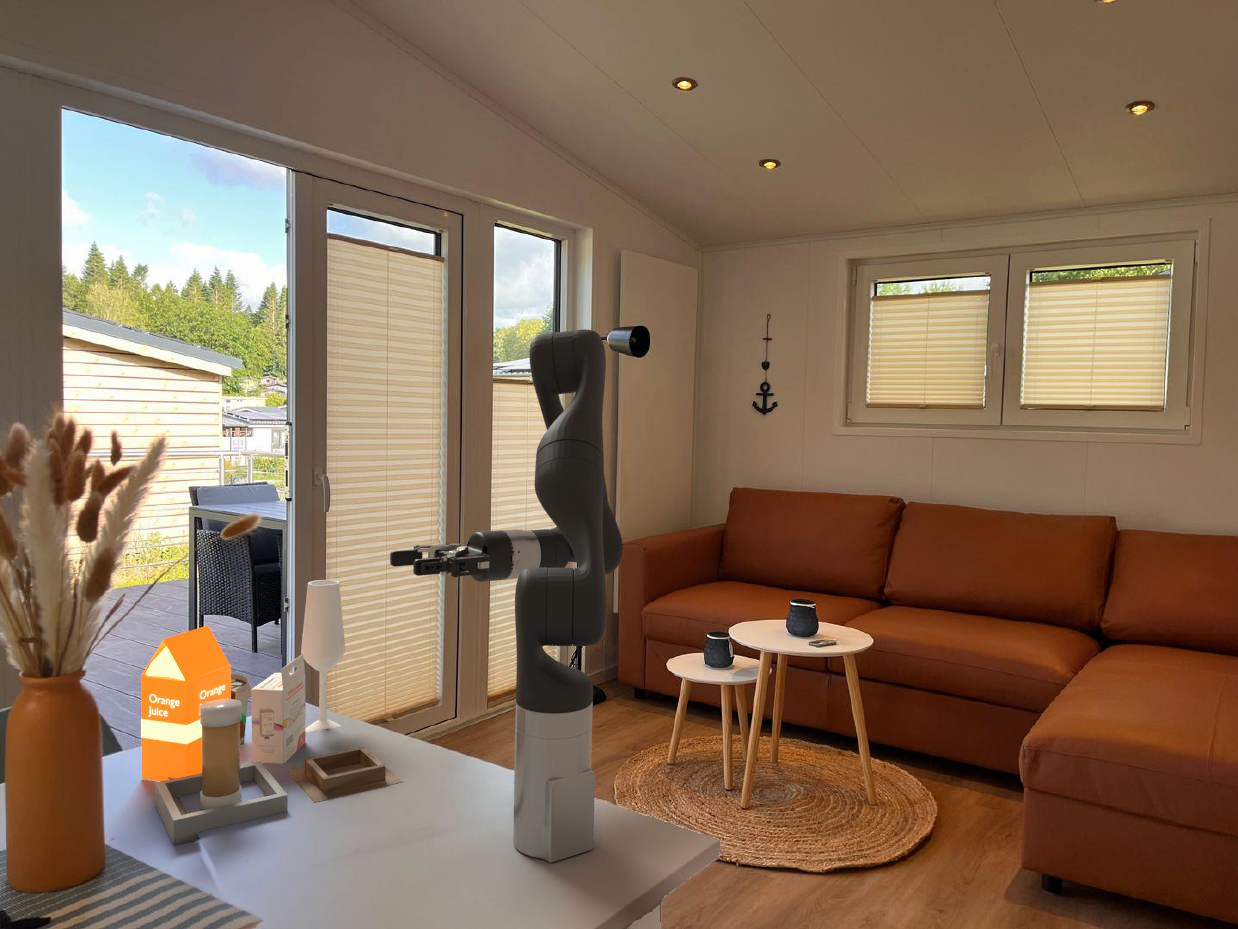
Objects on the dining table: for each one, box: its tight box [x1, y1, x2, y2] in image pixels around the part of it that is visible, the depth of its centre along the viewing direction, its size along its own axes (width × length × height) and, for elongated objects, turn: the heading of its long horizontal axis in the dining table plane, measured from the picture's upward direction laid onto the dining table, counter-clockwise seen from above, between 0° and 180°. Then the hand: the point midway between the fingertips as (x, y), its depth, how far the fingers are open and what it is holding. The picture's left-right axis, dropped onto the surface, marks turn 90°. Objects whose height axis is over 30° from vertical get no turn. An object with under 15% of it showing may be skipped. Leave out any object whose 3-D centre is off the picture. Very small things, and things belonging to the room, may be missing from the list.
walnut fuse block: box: [287, 746, 404, 804], centre depth 123 cm, size 12×12×3 cm
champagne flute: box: [300, 579, 346, 734], centre depth 143 cm, size 7×7×24 cm
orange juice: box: [140, 624, 232, 781], centre depth 126 cm, size 8×9×20 cm
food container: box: [231, 672, 253, 746], centre depth 138 cm, size 12×6×10 cm, turn 66°
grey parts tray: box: [154, 761, 288, 846], centre depth 114 cm, size 13×13×3 cm
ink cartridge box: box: [250, 653, 306, 764], centre depth 131 cm, size 9×5×15 cm, turn 179°
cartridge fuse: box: [199, 699, 242, 811], centre depth 114 cm, size 5×5×13 cm
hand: (402, 563), depth 127 cm, fingers open, 8 cm apart
